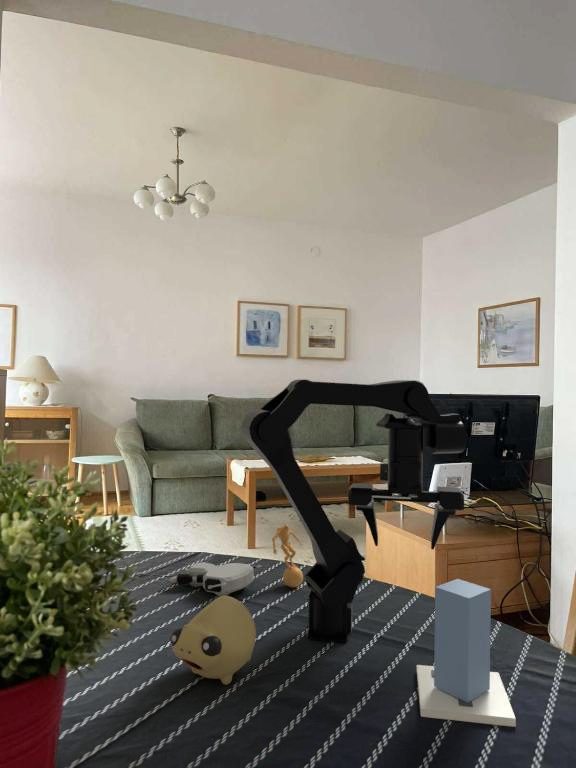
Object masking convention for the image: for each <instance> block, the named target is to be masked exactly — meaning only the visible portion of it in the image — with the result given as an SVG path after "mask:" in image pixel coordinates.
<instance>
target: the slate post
mask: <svg viewBox="0 0 576 768" xmlns="http://www.w3.org/2000/svg"><path fill="white" fill-rule="evenodd" d="M434 588H435V590H434V651H433V653H434V656H433V657H434V659H433V660H434V661H433V664H434V665H433V666H434V686H435V687H437V688H439V689H441V690H443V691H445V692H447V693H449V694H451V695H453V696H455V697H457V698H459V699H461V700H463V701H465V702H467V703H468V702H470V701H472V700H473V699H475V698H476V697H478V696H480V695H481V694H483V693H485V692H486V691H488V690H489V689H490V672H491V624H492V623H491V618H492V617H491V615H492V612H491V609H492V589H491V588H488V587H485V586H482V585H479V584H476V583H472V582H469V581H466V580H462V579H460V578H455V579H453V580H450V581H448V582H445V583H442V584H439V585H436V586H435V587H434Z"/></svg>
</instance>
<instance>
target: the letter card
mask: <svg viewBox="0 0 576 768" xmlns="http://www.w3.org/2000/svg"><path fill="white" fill-rule="evenodd" d="M416 678H417V680H416V681H417V690H418V691H417V692H418V700H419V701H418V702H419V709H420V710H419V711H420V712H419V713H420V717H421V718H422V717H423V718H432V719H438V720H451V721H459V722H460V721H461V722H469V723H477V724H485V725H486V724H487V725H495V726H502V727H503V726H504V727H505V726H506V727H513V728H514V727H515V728H516V723H517V722H516V721H517V719H516V716H515V713H514V710H513V708H512V705H511V703H510V700H509V697H508V695H507V692H506V689H505V685H504V683H503V681H502V679H501V676H500V673H499V671H498V672H497V671H490V689H489V690H488V691H486V692H485V693H483V694H481V695H480V696H478V697H476V698H475V699H473V700H472V701H470V702H468V703H467V702H465V701H463V700H461V699H459V698H457V697H455V696H453V695H451V694H449V693H447V692H445V691H443V690H441V689H439V688H437V687H435V686H434V665H425V664H424V665H423V664H422V665H421V664H416Z"/></svg>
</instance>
